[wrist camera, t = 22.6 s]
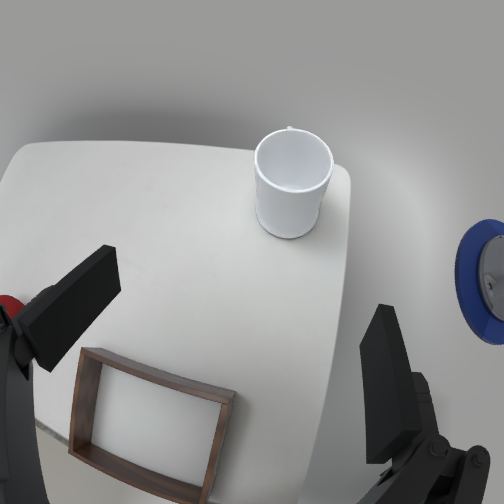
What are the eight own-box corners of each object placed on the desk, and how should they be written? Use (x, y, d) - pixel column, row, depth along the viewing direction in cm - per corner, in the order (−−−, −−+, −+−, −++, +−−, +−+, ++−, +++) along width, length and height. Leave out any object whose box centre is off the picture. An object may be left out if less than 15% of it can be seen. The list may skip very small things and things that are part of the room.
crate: (210, 494, 29) (203, 511, 24) (86, 445, 31) (68, 453, 26) (235, 391, 33) (230, 398, 29) (100, 347, 36) (81, 346, 31)
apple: (33, 363, 35) (-10, 361, 25) (5, 339, 36) (-35, 333, 27) (46, 312, 37) (3, 302, 28) (16, 293, 39) (-23, 279, 29)
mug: (262, 161, 42) (259, 103, 31) (319, 166, 42) (333, 111, 30) (252, 235, 39) (246, 190, 27) (317, 241, 38) (336, 199, 27)
